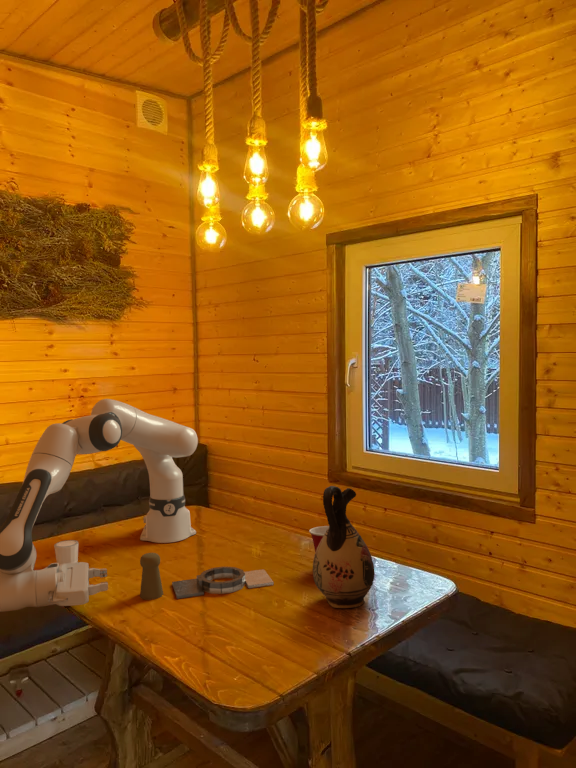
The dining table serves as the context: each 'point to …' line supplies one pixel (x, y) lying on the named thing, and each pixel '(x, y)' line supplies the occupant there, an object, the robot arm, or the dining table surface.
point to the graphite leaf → (207, 582)
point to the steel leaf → (251, 580)
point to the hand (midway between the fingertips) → (107, 578)
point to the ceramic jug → (342, 555)
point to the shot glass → (66, 551)
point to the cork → (150, 577)
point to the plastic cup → (318, 535)
